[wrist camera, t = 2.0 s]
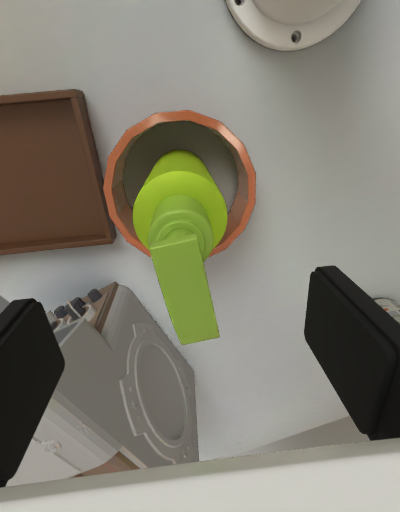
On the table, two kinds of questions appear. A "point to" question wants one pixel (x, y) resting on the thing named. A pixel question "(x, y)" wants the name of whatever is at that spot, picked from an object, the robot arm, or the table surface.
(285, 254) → the table surface
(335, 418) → the table surface
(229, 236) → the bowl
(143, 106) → the table surface
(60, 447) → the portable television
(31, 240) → the tray
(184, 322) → the soap dispenser
